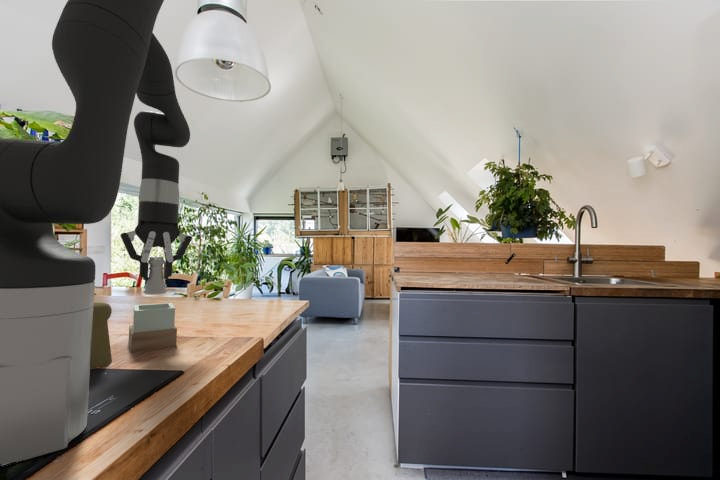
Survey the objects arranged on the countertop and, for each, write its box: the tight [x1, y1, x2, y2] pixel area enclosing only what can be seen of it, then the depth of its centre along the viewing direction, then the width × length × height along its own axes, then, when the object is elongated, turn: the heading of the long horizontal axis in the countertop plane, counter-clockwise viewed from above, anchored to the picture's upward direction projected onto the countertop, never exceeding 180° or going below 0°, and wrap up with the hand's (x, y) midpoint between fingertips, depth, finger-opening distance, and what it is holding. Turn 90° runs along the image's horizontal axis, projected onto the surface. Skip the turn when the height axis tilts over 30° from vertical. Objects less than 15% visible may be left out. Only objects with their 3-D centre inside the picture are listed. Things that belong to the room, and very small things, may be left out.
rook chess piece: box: [142, 256, 168, 296], centre depth 69 cm, size 4×4×8 cm
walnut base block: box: [128, 324, 178, 353], centre depth 68 cm, size 8×8×4 cm
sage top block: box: [132, 302, 176, 333], centre depth 68 cm, size 7×7×4 cm
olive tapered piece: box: [90, 302, 113, 371], centre depth 56 cm, size 6×6×11 cm
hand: (155, 278), depth 69 cm, fingers closed on rook chess piece, 3 cm apart
